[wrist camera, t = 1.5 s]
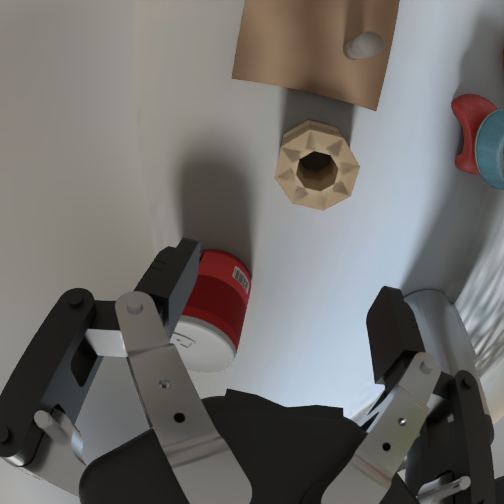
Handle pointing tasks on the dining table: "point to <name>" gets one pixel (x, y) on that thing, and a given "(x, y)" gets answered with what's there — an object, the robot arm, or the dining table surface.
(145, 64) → the dining table surface
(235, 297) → the canned food
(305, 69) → the gear board
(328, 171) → the beech gear
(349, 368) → the dining table surface
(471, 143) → the colourful stacking toy
